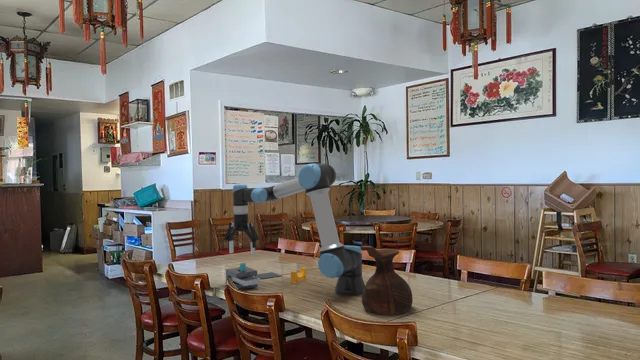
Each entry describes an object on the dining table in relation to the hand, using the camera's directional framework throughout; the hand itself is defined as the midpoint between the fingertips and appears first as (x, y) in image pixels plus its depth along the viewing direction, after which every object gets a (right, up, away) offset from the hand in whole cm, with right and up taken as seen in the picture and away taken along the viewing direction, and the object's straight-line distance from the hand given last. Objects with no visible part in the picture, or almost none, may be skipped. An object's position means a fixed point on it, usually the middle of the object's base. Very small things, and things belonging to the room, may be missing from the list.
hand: (242, 253), depth 260 cm
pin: (+1, -17, 0) cm, 17 cm away
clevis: (+1, -17, -1) cm, 17 cm away
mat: (+11, -17, +24) cm, 31 cm away
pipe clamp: (+29, -17, +10) cm, 35 cm away
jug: (+70, -18, -54) cm, 90 cm away
